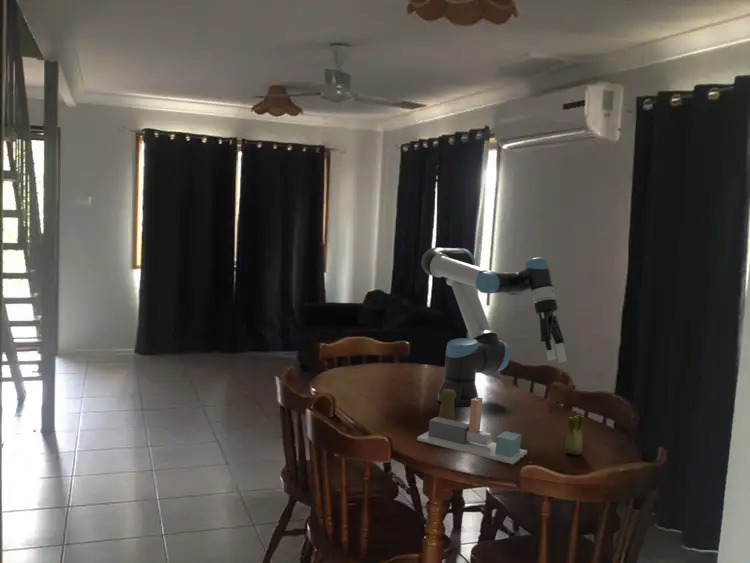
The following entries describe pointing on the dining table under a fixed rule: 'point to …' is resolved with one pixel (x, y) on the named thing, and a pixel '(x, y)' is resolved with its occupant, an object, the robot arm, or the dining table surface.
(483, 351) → the robot arm
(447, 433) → the outer sleeve
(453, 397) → the cork
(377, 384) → the dining table surface
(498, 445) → the socket block
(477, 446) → the base board
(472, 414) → the inner bar
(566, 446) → the fennel bulb
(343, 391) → the dining table surface
